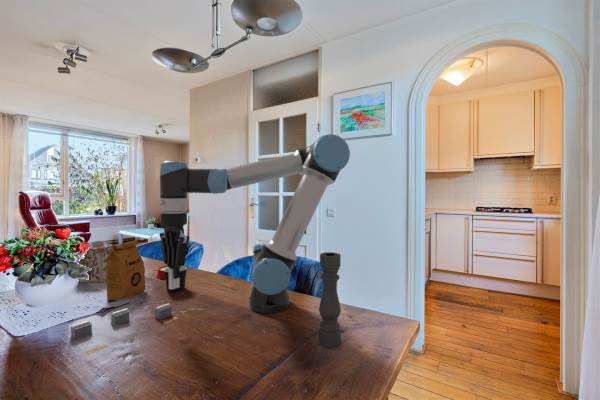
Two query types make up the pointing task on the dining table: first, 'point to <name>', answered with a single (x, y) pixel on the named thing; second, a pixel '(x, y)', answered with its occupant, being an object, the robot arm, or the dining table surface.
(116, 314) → the switch
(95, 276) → the decorative jar
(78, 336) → the switch
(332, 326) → the candle holder
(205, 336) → the dining table surface
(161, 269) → the alarm clock
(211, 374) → the dining table surface
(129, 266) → the coffee package
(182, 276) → the coffee mug
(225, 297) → the dining table surface
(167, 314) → the switch
